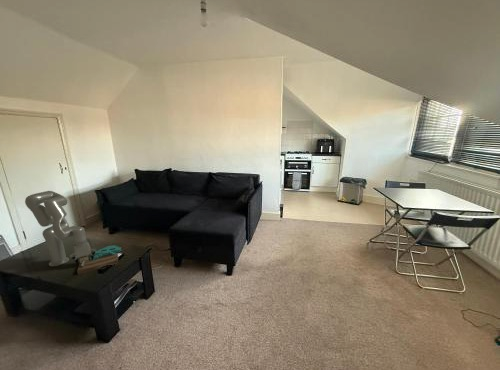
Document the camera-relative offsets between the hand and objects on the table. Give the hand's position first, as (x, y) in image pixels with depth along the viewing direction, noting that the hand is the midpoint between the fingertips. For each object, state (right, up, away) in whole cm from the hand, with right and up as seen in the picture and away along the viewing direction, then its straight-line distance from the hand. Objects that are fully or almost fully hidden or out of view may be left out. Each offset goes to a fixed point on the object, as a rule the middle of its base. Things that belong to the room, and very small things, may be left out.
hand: (85, 261), depth 172 cm
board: (+13, -3, -1) cm, 13 cm away
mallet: (+2, -3, -3) cm, 5 cm away
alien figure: (+6, +1, +18) cm, 19 cm away
